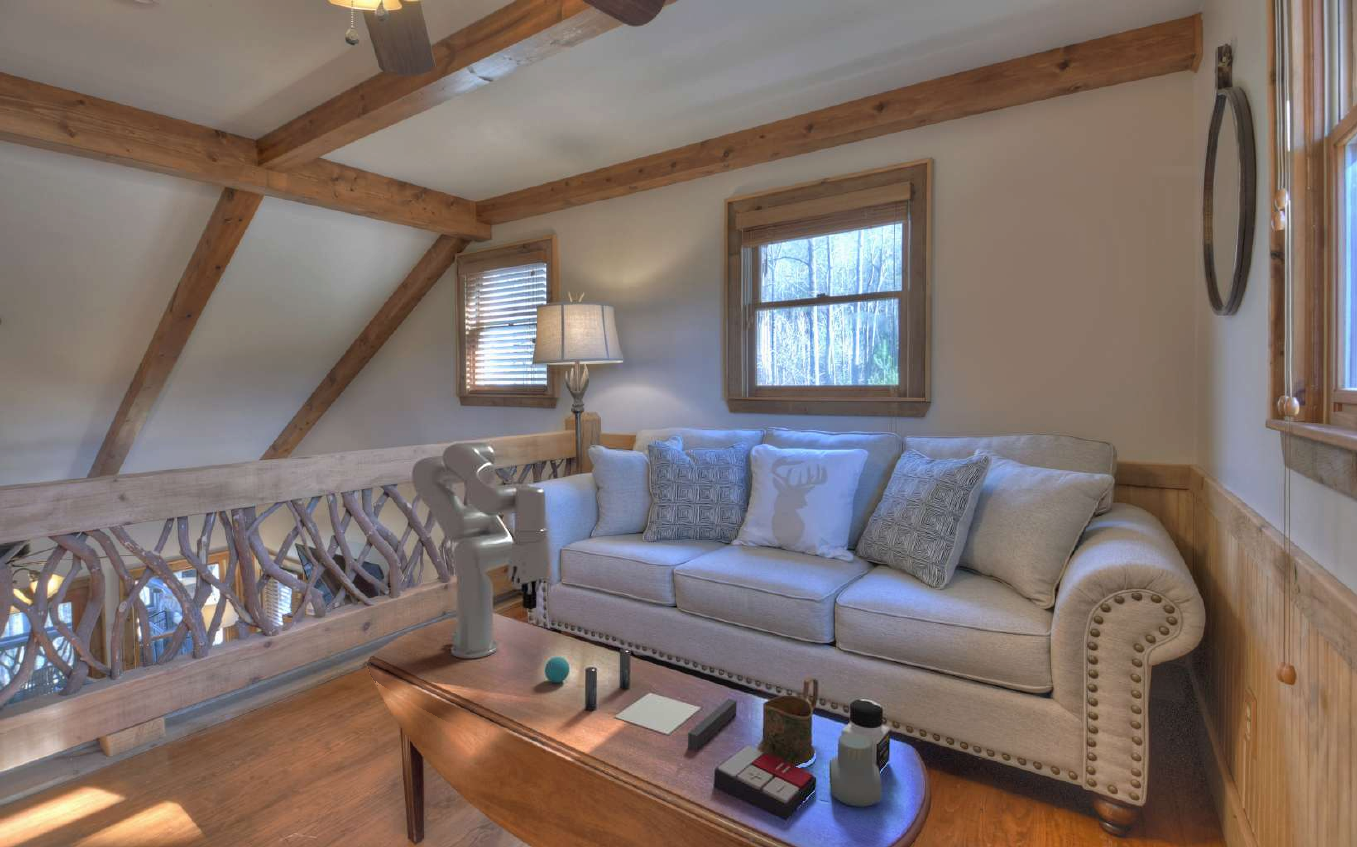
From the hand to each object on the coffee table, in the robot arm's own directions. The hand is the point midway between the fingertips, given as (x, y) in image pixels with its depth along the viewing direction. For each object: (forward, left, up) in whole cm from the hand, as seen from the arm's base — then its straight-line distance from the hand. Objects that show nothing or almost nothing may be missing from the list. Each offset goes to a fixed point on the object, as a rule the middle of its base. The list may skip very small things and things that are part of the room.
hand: (529, 607), depth 163 cm
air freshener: (+85, -7, -17) cm, 87 cm away
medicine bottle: (+84, +4, -17) cm, 86 cm away
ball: (+9, 0, -14) cm, 17 cm away
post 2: (+25, +7, -17) cm, 31 cm away
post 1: (+25, -6, -17) cm, 31 cm away
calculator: (+71, -13, -18) cm, 74 cm away
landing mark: (+39, 0, -17) cm, 43 cm away
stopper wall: (+53, 0, -17) cm, 56 cm away
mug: (+70, +3, -17) cm, 73 cm away
